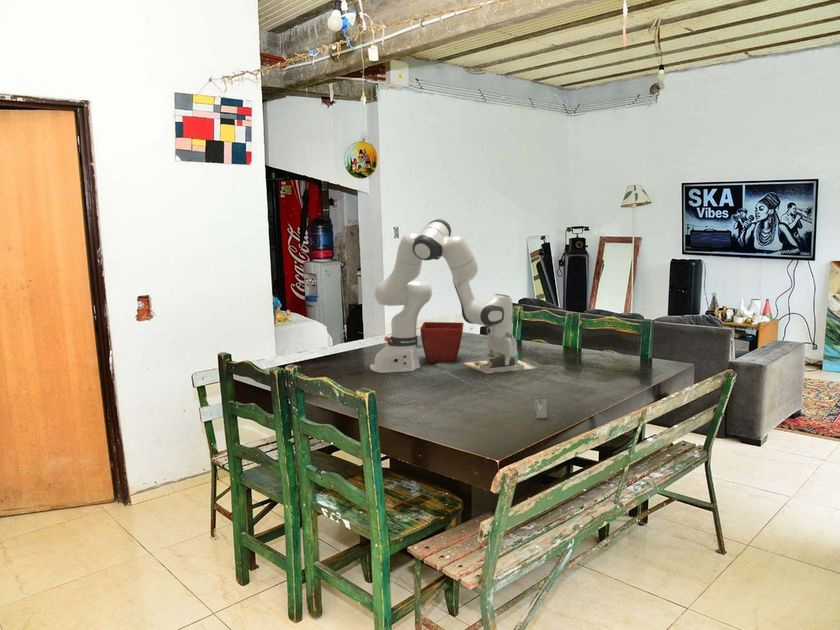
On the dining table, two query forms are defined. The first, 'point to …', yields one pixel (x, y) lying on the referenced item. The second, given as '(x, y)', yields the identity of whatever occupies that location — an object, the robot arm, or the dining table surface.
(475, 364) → the board
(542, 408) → the architectural model
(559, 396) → the dining table surface
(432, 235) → the robot arm
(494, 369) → the tray
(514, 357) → the teal stepped block
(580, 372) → the dining table surface
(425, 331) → the plant pot
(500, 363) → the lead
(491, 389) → the dining table surface
